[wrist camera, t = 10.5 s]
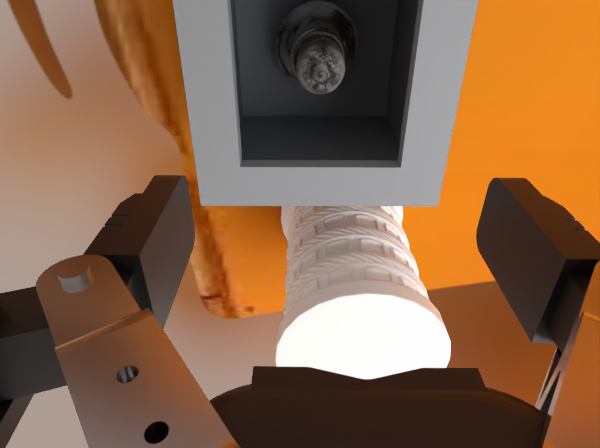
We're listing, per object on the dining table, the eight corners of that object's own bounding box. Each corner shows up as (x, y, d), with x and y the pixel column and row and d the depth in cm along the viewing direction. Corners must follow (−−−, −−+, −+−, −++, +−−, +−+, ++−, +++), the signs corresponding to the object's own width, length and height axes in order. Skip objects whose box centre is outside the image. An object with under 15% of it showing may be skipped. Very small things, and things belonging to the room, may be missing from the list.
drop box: (216, -71, 30) (160, -84, 18) (419, -71, 30) (495, -84, 18) (233, 125, 38) (200, 205, 26) (395, 125, 37) (437, 206, 26)
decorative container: (388, 141, 38) (444, 267, 23) (409, 244, 44) (466, 399, 29) (264, 176, 40) (241, 314, 25) (301, 270, 46) (300, 428, 31)
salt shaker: (269, 66, 34) (255, 113, 24) (289, -16, 31) (283, 0, 21) (339, 87, 35) (354, 141, 25) (365, 10, 32) (394, 36, 22)
